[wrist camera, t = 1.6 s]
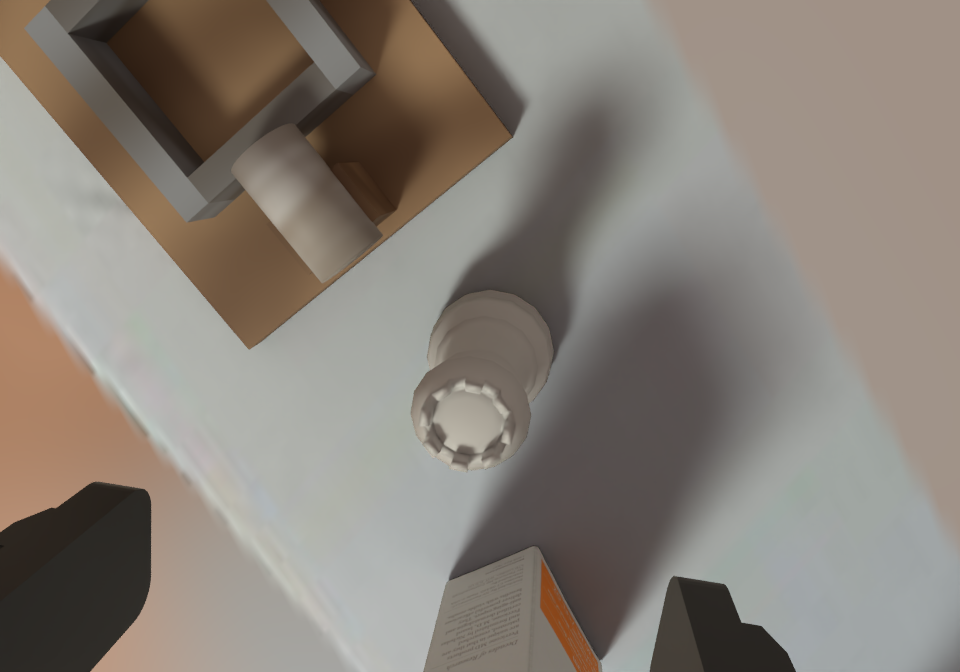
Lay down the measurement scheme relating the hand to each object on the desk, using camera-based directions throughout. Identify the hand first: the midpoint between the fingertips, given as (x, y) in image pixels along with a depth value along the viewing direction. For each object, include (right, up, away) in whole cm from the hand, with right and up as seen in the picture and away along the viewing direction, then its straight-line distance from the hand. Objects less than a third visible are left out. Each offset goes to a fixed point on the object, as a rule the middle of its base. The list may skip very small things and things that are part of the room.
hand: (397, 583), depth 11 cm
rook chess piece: (+2, +3, +16) cm, 16 cm away
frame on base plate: (-7, +13, +14) cm, 20 cm away
